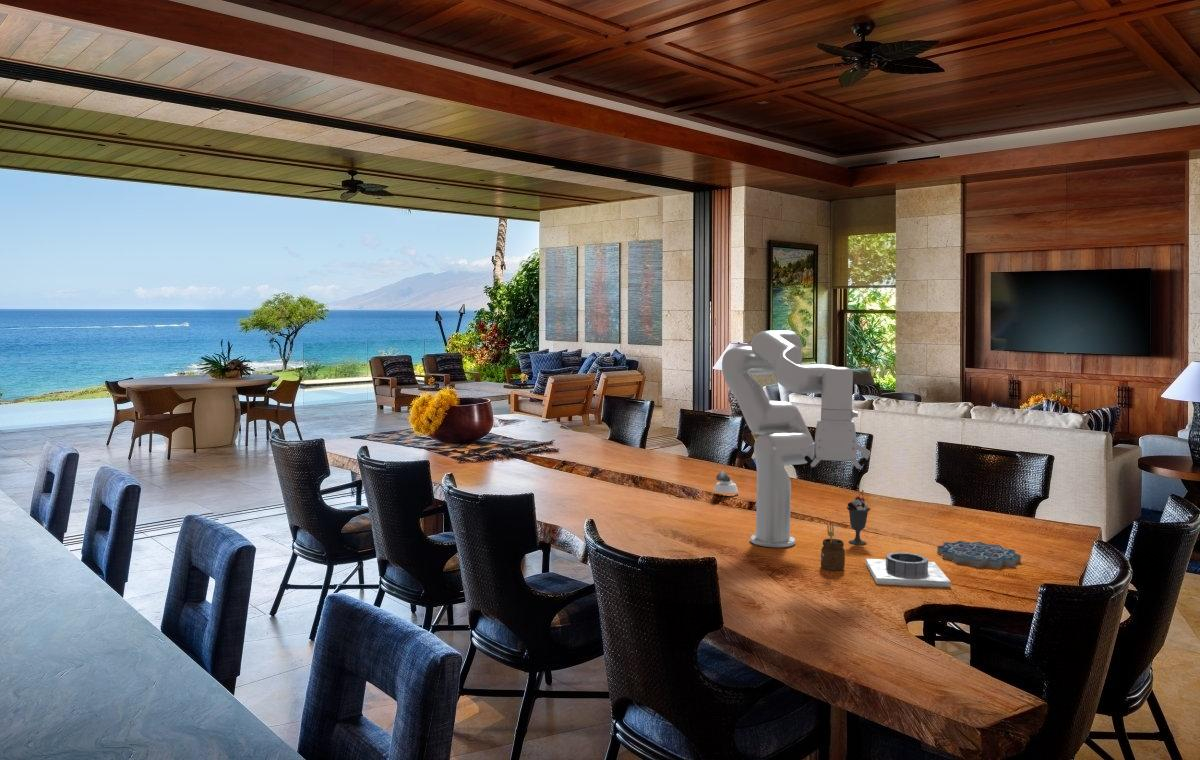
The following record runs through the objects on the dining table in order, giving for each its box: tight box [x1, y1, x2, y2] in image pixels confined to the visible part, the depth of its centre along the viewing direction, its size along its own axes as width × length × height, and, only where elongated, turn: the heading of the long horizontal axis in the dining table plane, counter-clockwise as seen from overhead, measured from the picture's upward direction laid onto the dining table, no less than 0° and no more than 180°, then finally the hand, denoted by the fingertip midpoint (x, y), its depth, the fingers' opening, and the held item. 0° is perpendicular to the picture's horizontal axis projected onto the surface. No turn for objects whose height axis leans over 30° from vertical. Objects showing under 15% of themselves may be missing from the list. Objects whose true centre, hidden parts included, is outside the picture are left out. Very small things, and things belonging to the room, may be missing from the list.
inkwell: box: [713, 470, 739, 493], centre depth 306 cm, size 9×18×10 cm, turn 166°
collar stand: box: [865, 551, 952, 589], centre depth 212 cm, size 17×17×4 cm
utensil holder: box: [820, 523, 846, 572], centre depth 218 cm, size 6×6×12 cm
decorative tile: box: [936, 540, 1022, 570], centre depth 229 cm, size 20×20×2 cm
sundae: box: [846, 490, 871, 546], centre depth 243 cm, size 7×7×15 cm
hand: (834, 482), depth 216 cm, fingers open, 9 cm apart
